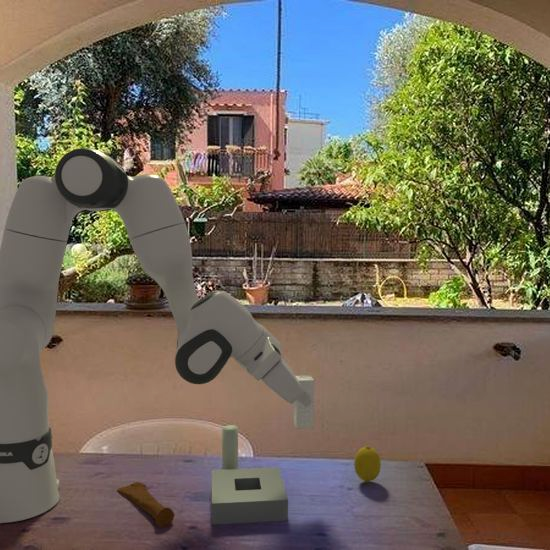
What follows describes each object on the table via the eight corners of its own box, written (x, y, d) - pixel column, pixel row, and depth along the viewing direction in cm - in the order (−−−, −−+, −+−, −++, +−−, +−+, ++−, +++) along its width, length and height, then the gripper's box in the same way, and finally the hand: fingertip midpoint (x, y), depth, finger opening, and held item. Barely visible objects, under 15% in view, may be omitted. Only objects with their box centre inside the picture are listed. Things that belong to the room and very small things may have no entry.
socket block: (211, 524, 98) (211, 503, 98) (211, 488, 112) (211, 469, 112) (287, 520, 100) (288, 499, 100) (278, 485, 114) (278, 467, 113)
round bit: (219, 473, 119) (219, 429, 118) (227, 467, 122) (227, 424, 122) (233, 476, 118) (233, 431, 117) (240, 470, 121) (240, 426, 120)
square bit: (296, 429, 109) (297, 380, 108) (293, 423, 112) (294, 375, 111) (313, 428, 109) (314, 380, 108) (310, 422, 113) (311, 375, 112)
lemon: (383, 479, 117) (384, 444, 116) (375, 490, 112) (376, 453, 111) (358, 474, 119) (359, 439, 119) (350, 484, 114) (351, 448, 114)
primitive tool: (115, 491, 111) (115, 475, 111) (140, 484, 115) (140, 468, 115) (157, 532, 96) (157, 513, 96) (184, 522, 100) (184, 504, 100)
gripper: (245, 353, 119) (288, 395, 120) (252, 377, 98) (304, 428, 100) (265, 332, 119) (308, 375, 121) (277, 353, 98) (328, 404, 100)
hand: (306, 399), depth 110 cm, fingers closed on square bit, 3 cm apart
